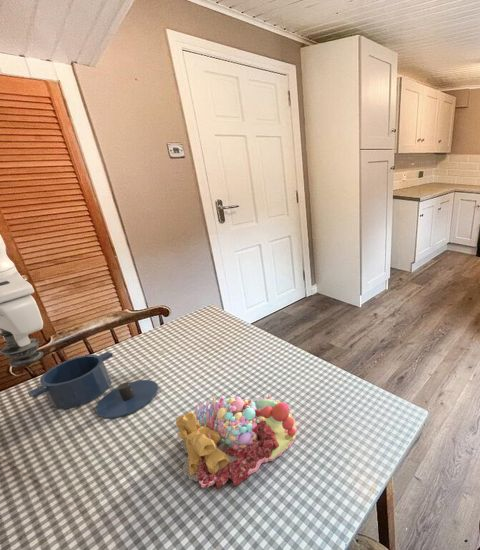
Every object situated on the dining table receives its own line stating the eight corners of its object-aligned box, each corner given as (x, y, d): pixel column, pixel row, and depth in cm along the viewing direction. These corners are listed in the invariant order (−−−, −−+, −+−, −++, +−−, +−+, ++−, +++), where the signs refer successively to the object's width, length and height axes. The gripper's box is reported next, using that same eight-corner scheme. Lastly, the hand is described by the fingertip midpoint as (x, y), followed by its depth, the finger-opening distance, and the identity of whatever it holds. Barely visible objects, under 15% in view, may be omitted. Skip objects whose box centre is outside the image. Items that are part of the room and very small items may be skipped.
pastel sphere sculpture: (208, 516, 57) (198, 483, 53) (164, 443, 71) (154, 413, 67) (312, 430, 74) (309, 401, 71) (260, 385, 88) (255, 359, 85)
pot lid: (85, 411, 80) (78, 396, 78) (138, 378, 92) (132, 364, 90) (119, 427, 75) (112, 411, 73) (169, 390, 87) (165, 375, 85)
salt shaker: (43, 348, 72) (21, 303, 67) (46, 358, 68) (24, 311, 64) (6, 360, 68) (-19, 313, 63) (8, 371, 64) (-19, 322, 60)
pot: (29, 410, 80) (15, 385, 77) (104, 368, 96) (95, 346, 93) (56, 424, 76) (43, 398, 73) (131, 378, 92) (122, 355, 88)
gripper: (-58, 282, 62) (-26, 339, 67) (-9, 299, 55) (23, 361, 60) (-14, 272, 68) (13, 325, 73) (36, 286, 60) (62, 344, 66)
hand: (18, 342), depth 66 cm, fingers closed on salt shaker, 3 cm apart
